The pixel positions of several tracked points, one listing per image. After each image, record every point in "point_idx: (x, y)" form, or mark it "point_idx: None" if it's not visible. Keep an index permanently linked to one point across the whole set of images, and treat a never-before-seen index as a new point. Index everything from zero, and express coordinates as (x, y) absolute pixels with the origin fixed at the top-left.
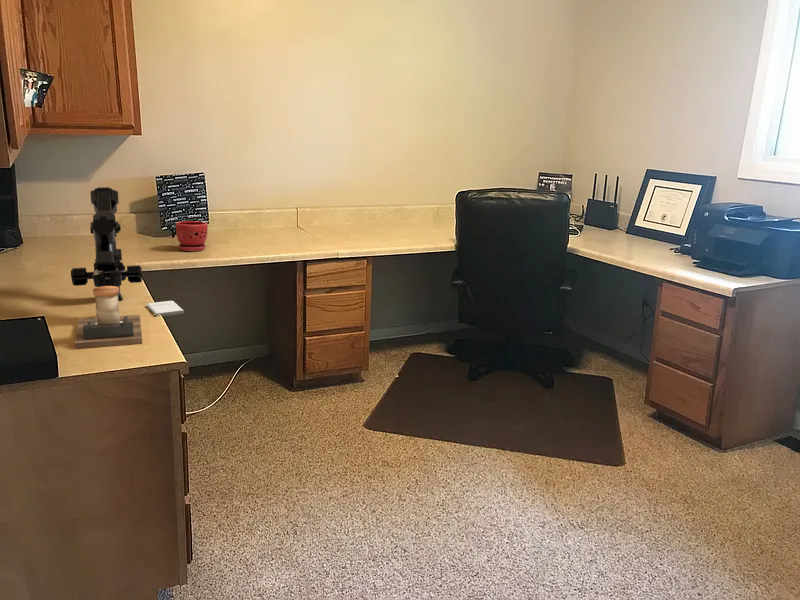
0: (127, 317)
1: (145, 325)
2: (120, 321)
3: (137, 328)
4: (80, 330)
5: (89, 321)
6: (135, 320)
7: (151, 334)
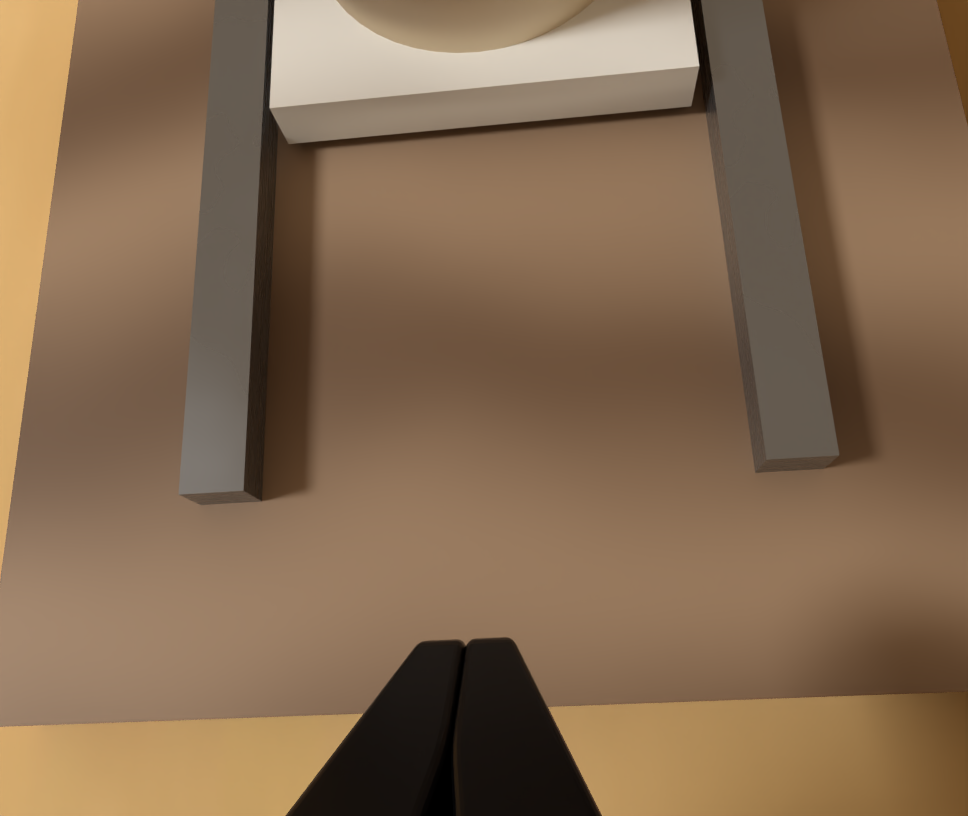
0: (191, 401)
1: (14, 392)
2: (306, 89)
3: (121, 8)
4: (888, 14)
5: (852, 458)
6: (97, 376)
7: (13, 20)
